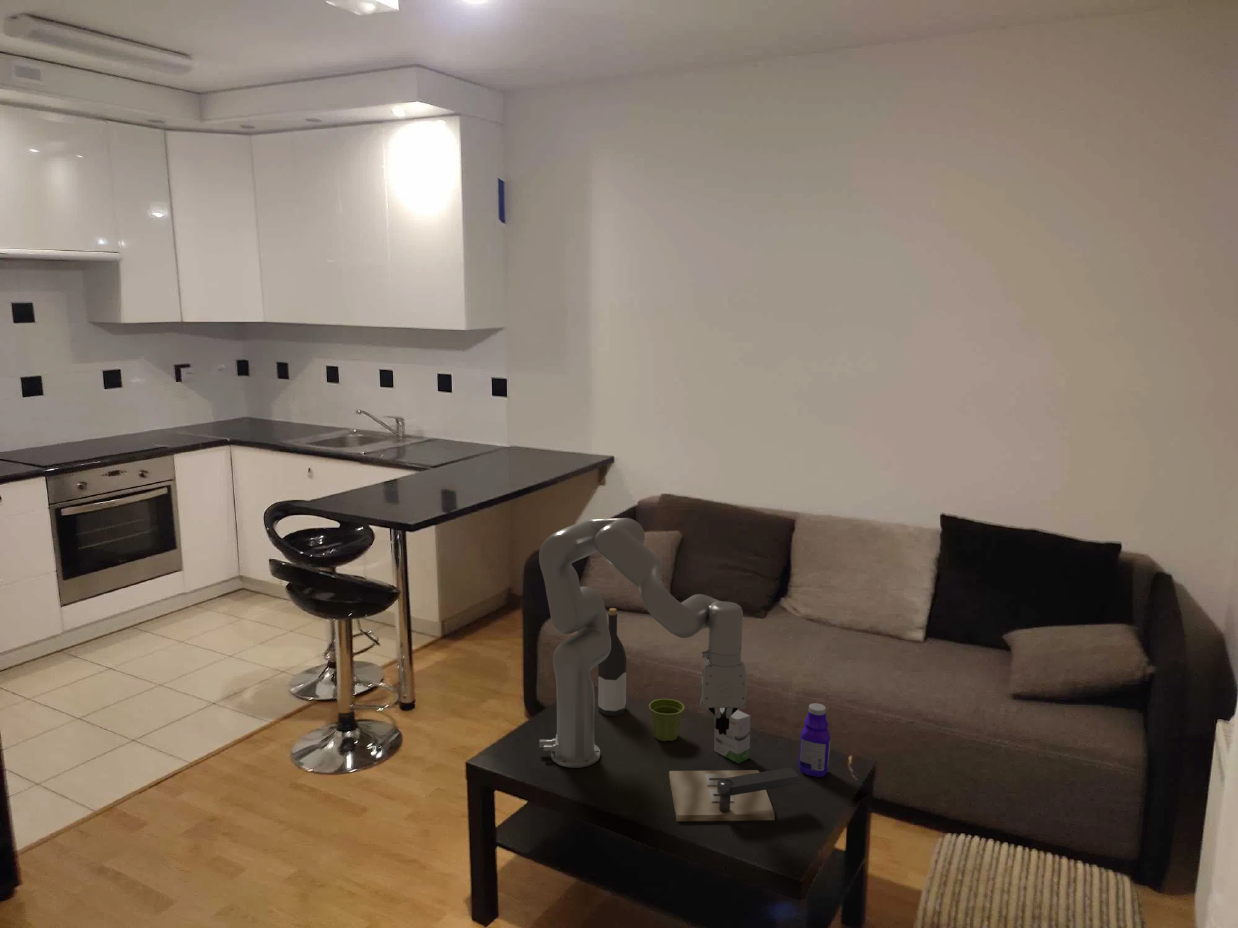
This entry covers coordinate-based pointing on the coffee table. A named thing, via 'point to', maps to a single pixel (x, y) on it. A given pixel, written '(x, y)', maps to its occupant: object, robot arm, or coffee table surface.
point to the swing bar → (757, 782)
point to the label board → (716, 798)
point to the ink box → (734, 738)
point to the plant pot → (666, 718)
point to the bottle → (815, 742)
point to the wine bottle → (612, 674)
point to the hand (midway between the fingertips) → (721, 731)
